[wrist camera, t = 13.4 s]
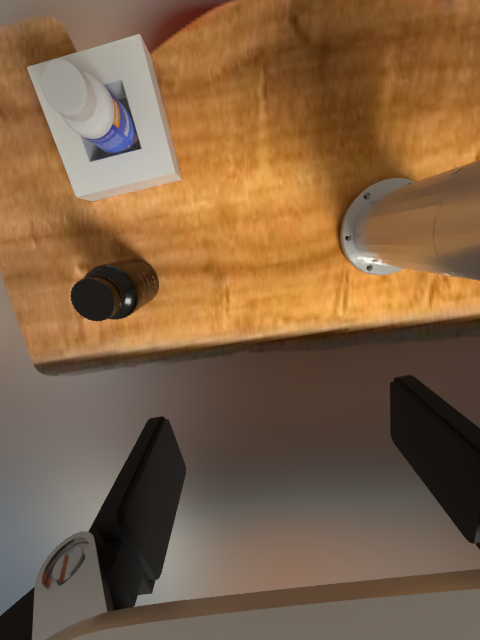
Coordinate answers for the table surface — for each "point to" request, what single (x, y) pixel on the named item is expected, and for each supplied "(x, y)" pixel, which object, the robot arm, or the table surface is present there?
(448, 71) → the table surface
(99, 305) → the supplement bottle
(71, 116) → the pill bottle
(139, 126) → the housing
